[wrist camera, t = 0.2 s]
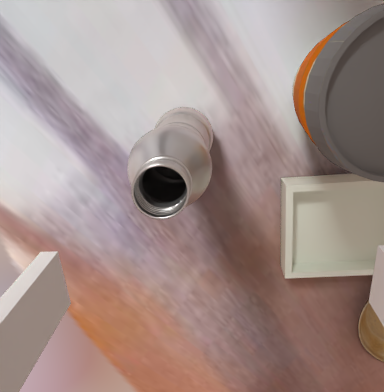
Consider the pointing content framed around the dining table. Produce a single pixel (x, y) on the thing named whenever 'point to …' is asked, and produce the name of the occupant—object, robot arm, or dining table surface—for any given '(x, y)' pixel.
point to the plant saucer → (371, 332)
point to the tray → (330, 225)
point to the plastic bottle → (171, 163)
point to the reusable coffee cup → (346, 95)
